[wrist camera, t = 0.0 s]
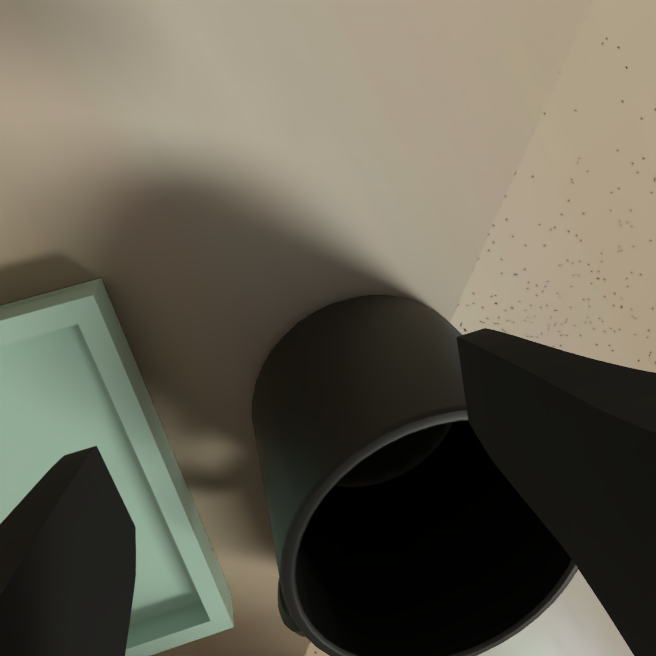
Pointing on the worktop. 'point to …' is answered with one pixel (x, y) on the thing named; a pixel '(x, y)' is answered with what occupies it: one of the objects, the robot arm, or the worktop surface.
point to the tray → (107, 453)
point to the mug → (392, 492)
